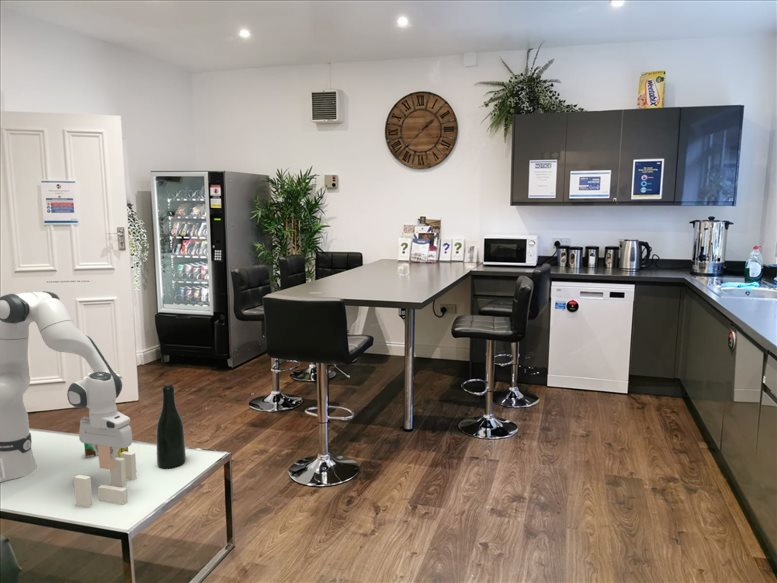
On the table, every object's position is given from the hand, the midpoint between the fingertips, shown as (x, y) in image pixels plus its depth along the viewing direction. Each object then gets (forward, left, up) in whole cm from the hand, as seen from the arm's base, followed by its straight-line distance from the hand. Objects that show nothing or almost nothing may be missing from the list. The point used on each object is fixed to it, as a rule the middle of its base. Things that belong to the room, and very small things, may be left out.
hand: (106, 456), depth 204 cm
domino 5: (+2, +10, -13) cm, 16 cm away
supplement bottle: (-11, +25, -13) cm, 30 cm away
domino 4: (+1, -6, -11) cm, 12 cm away
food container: (-23, +29, -13) cm, 39 cm away
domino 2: (0, 0, -4) cm, 4 cm away
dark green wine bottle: (+12, +23, -13) cm, 29 cm away
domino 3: (+1, +5, -13) cm, 14 cm away
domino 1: (-2, -10, -13) cm, 17 cm away
